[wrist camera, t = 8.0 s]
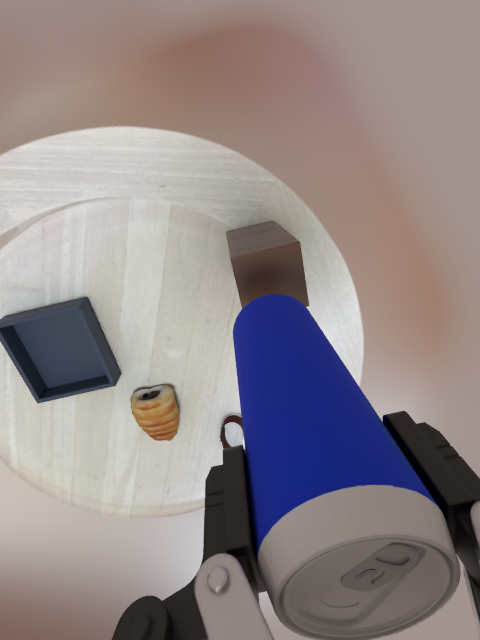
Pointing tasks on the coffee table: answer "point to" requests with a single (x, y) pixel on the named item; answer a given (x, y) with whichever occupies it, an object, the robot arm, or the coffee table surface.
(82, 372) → the tray
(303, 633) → the beverage can
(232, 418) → the watch
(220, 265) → the coffee table surface
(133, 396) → the pastry
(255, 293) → the block
